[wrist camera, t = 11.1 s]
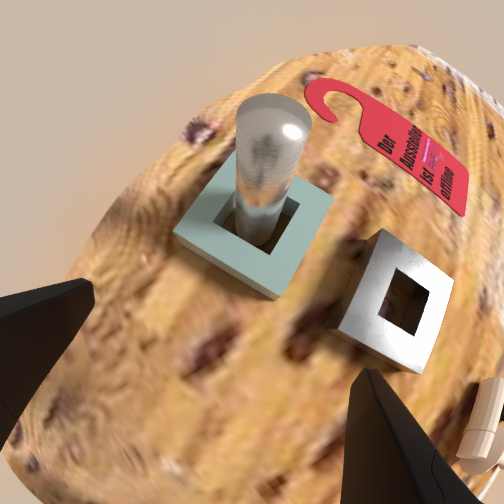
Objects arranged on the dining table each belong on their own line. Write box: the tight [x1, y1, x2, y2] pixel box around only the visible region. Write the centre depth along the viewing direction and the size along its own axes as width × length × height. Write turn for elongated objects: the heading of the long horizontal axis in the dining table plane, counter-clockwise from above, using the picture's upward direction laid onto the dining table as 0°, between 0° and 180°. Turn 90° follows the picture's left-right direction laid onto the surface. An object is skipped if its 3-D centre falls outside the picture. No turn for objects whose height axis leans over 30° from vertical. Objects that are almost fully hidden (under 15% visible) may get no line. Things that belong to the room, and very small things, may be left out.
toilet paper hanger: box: [456, 378, 504, 476], centre depth 15 cm, size 21×11×7 cm, turn 54°
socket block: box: [325, 228, 453, 374], centre depth 20 cm, size 9×9×3 cm
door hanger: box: [305, 78, 469, 217], centre depth 27 cm, size 9×1×25 cm
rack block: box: [173, 149, 334, 301], centre depth 21 cm, size 9×9×3 cm
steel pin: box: [235, 93, 312, 246], centre depth 17 cm, size 3×3×13 cm
